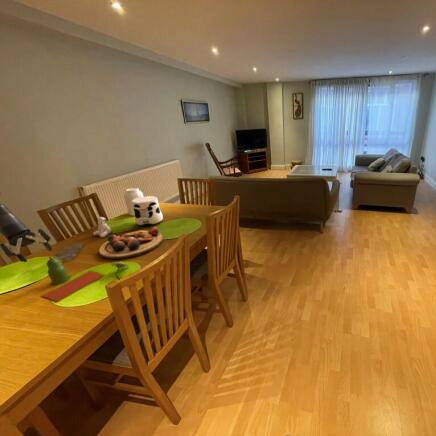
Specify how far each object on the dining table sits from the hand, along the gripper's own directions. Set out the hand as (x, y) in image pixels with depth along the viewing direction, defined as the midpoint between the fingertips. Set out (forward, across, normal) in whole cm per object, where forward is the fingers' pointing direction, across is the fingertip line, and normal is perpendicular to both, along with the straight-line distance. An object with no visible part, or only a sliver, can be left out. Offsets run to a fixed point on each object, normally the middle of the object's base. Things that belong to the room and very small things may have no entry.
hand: (38, 255), depth 105 cm
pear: (+13, +1, +6) cm, 15 cm away
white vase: (-10, +73, +51) cm, 90 cm away
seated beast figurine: (-4, +39, +36) cm, 53 cm away
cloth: (+19, +2, -2) cm, 19 cm away
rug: (-1, +16, +28) cm, 33 cm away
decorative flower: (+28, +16, -10) cm, 34 cm away
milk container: (+5, +64, +29) cm, 70 cm away
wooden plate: (+15, +37, +10) cm, 41 cm away
